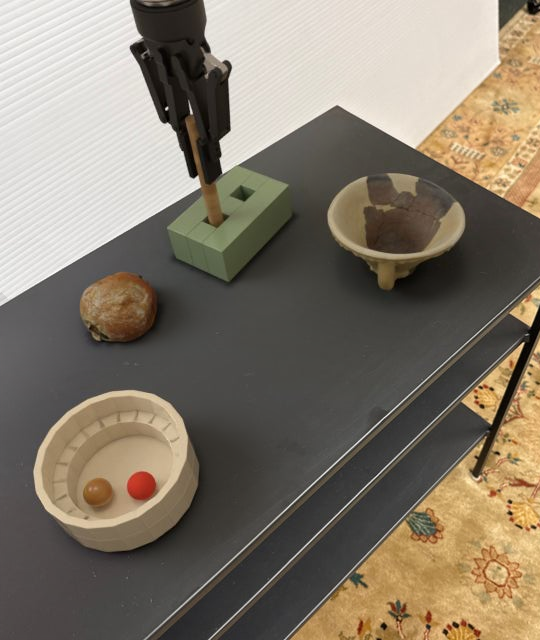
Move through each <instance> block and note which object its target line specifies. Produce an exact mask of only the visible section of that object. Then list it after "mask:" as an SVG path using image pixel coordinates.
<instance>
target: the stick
mask: <svg viewBox="0 0 540 640" xmlns="http://www.w3.org/2000/svg"><path fill="white" fill-rule="evenodd" d="M190 114H191V115H188V116H187V117H186V118H185V122H186V126H187V130H188V134H189V138H190V143H191V147H192V151H193V155H194V160H195V164H196V168H197V172H198V176H197V177H198V180H199V184H200V188H201V189H200V190H201V193H202V195H203V198H204V202H205V206H206V210H207V215H208V219H209V223H210V225H212V226H214V227H216V228H218V227H219V226H220V225H221V224H222V223H223V222H224V220H223V216H222V211H221V206H220V201H219V197H218V192H217V187H216V183H217V182H216V180H215V181H214V182H213V183H212V184H211V185H208V184H206V183H205V180H204V175H203V171H202V167H201V162H200V158H199V154H198V149H197V145H196V140H197V139H198V138H200V136H199V133H198V129H197V126H196V123H195V119H194V116H193V113H190Z"/></svg>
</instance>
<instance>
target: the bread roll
mask: <svg viewBox="0 0 540 640" xmlns="http://www.w3.org/2000/svg"><path fill="white" fill-rule="evenodd" d="M157 310H158V297H157V295H156V292H155V290H154V288H153V286H151V284H150V283H149V281H146V280H144V279H143V276H142V275H140V274H136V273H131V272H129V271H119V272H117V273H114V274H110V275H108V276H107V277H105V278H102V279H100V280H97V281H96V282H94V283H91V284H90V285H89V286H88V287H87V288H86V289H84V290H83V293H82V295H81V297H80V300H79V315H80V317H81V320H82V322H83V324H84V325H85V327H86V328H87V330H88V332H90V333H91V335H92V337H93V338H94V339H95V340H96V341H99V342H101V341H106V342H123V343H125V342H131V341H134V340H137V339H138V338H140V337H142V336H143V335H144V334H146V332H148V331H149V330H150V329H151V327H152V326H153V325H154V322H155V318H156V314H157Z"/></svg>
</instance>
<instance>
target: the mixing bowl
mask: <svg viewBox="0 0 540 640" xmlns="http://www.w3.org/2000/svg"><path fill="white" fill-rule="evenodd" d="M194 446H195V445H194V444H193V441H192V439H191V436H190V433H189V431H188V429H187V426H186V424H185V421H184V419H183V418H182V416H181V415H180V413H178V411H177V410H176V409H175V407H174V406H173V404H171V403H170V402H168V401H167V400H165V399H163V398H161V397H159V396H158V395H156V394H155V393H149V392H147V391H141V390H136V389H126V390H115V391H108V392H104V393H102V394H99V395H97V396H93V397H90V398H87V399H86V400H84V401H82V402H80V403H79V404H78V405H76V406H75V407H73V408H70V410H68V411H67V412H65V414H64V415H63V416H61V418H60V419H59V420H58V421H57V422H56V423H55V424H54V425H53V426H52V427H51V428H50V429H49V430H48V432H47V434H46V436H45V437H44V439H43V441H42V443H41V444H40V446H39V447H38V450H37V454H36V459H35V463H34V466H33V467H34V468H33V479H34V480H33V481H34V487H35V493H36V496H37V497H38V498H39V501H40V502H41V504H42V506H43V507H44V510H45V511H46V512H47V513H48V514H49V515H50V517H52V519H54V521H55V522H56V523H57V524H58V525H59V526H60V527H61V528H62V530H64V532H65V533H66V534H67V535H68V536H70V537H71V538H72V539H73V540H75V541H77V542H78V543H79V544H80V545H82V546H83V547H86V548H90V549H93V550H98V551H100V552H106V553H112V552H122V551H132V550H134V549H137V548H140V547H142V546H144V545H147V544H149V543H153V542H155V541H156V540H158V538H160V537H161V536H163V535H164V534H165V533H167V532H168V531H169V530H171V529H172V528H174V526H176V524H177V523H178V522H179V521H180V519H181V518H182V517H183V516H184V514H185V513H186V512H187V510H188V509H190V507H191V504H192V502H193V499H194V497H195V494H196V492H197V489H198V487H199V476H200V475H199V473H200V462H199V459H198V455H197V453H196V449H195V447H194ZM140 471H145V472H148V473H150V474H151V475H152V476H153V477H154V479H155V481H156V488H155V491H154V493H153V494H152V495H151V496H150V497H149V498H147V499H145V500H136V499H134V498H132V497H131V496H130V495H129V493H128V491H127V482H128V480H129V478H130V477H131V476H132V475H133V474H135V473H137V472H140ZM95 478H103V479H106V480H107V481H109V482H110V484H111V486H112V489H113V494H112V497H111V499H110V501H109V502H108V503H107V504H105V505H103V506H101V507H93V506H90V505H89V504H87V503H86V501H85V500H84V497H83V490H84V487H85V486H86V484H87V483H88V482H89V481H91V480H92V479H95Z"/></svg>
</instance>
